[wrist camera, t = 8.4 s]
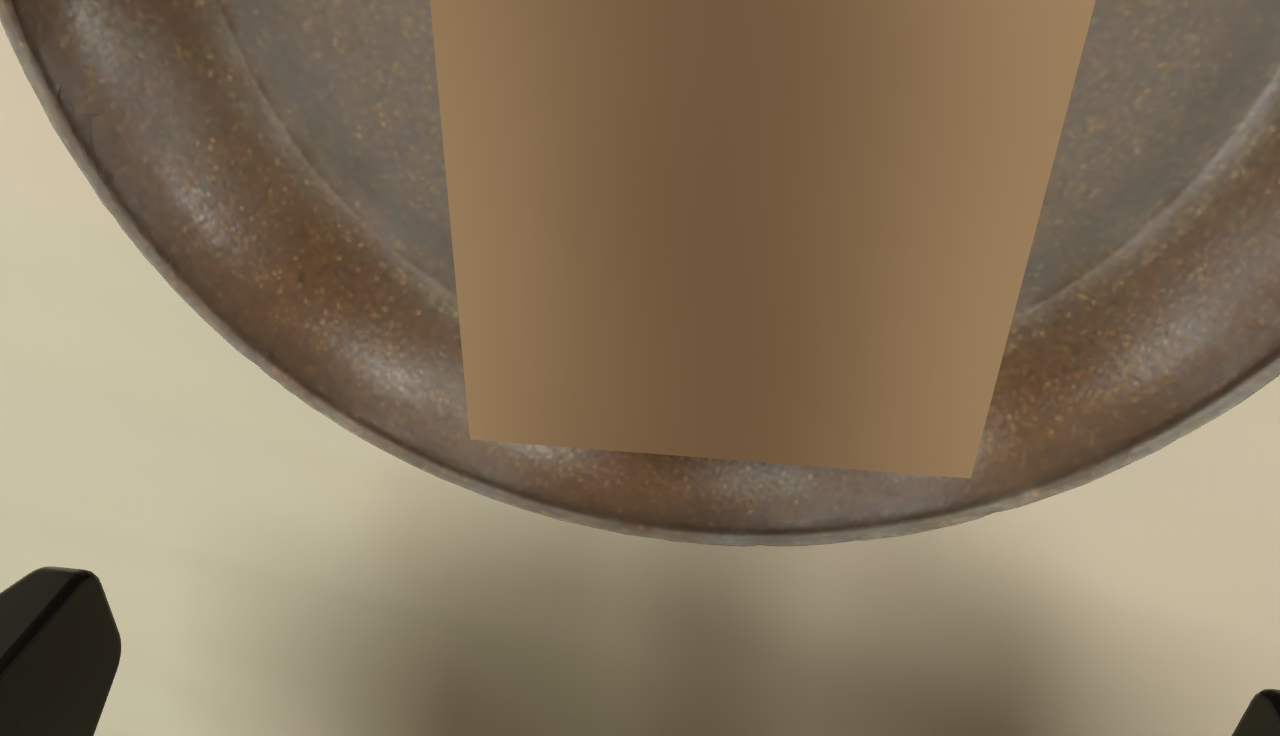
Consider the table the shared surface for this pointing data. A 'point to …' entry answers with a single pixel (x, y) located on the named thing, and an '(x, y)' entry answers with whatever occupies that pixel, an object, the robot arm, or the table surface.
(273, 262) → the plant saucer
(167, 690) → the table surface
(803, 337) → the walnut block
